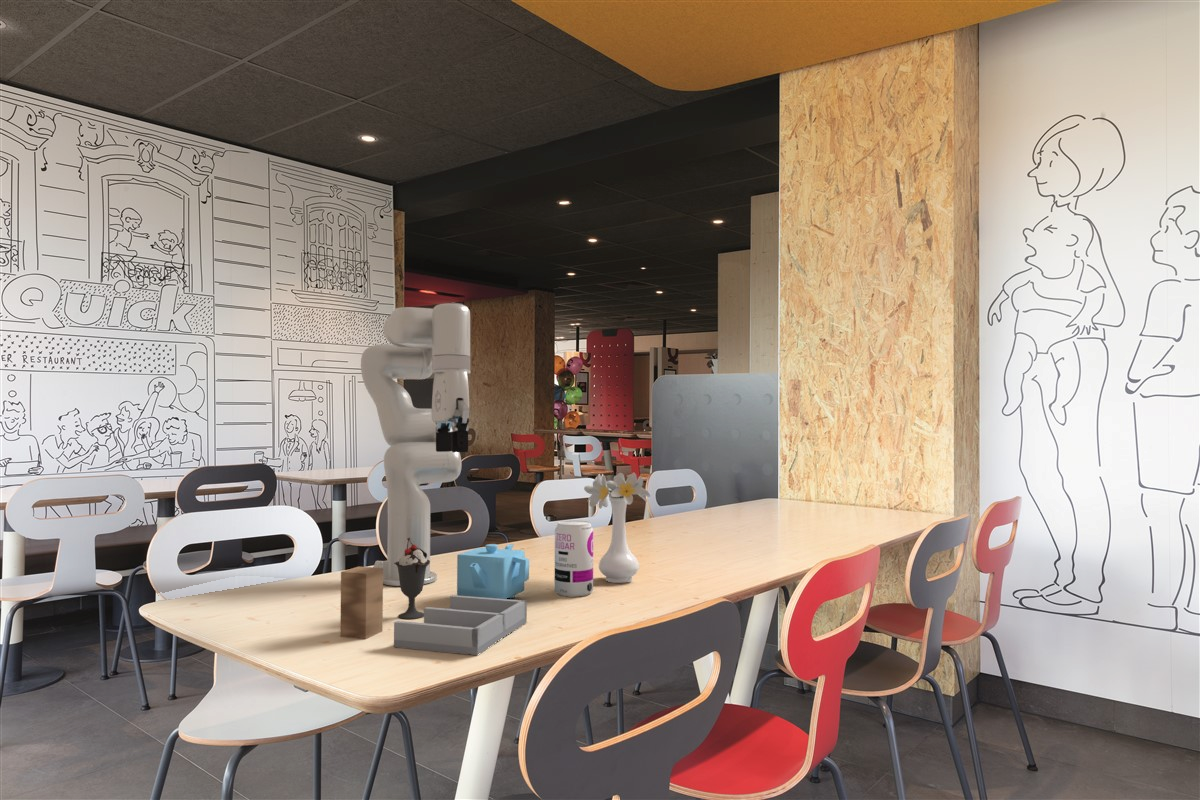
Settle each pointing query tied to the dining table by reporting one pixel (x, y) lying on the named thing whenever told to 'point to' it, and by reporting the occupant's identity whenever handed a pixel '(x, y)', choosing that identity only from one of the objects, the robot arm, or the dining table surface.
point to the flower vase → (617, 523)
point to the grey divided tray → (462, 625)
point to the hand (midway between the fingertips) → (451, 451)
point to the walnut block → (361, 602)
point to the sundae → (412, 578)
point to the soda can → (574, 558)
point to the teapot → (492, 572)
